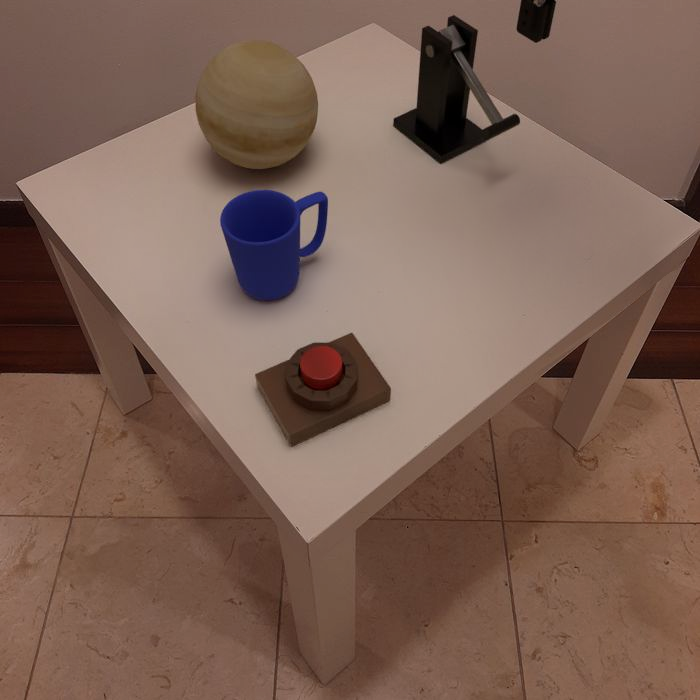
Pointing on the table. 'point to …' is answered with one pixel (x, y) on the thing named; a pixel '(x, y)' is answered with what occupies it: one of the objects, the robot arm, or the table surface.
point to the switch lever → (478, 88)
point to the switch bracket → (442, 97)
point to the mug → (269, 239)
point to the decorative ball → (256, 104)
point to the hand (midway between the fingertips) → (532, 34)
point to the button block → (322, 391)
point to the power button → (321, 367)
